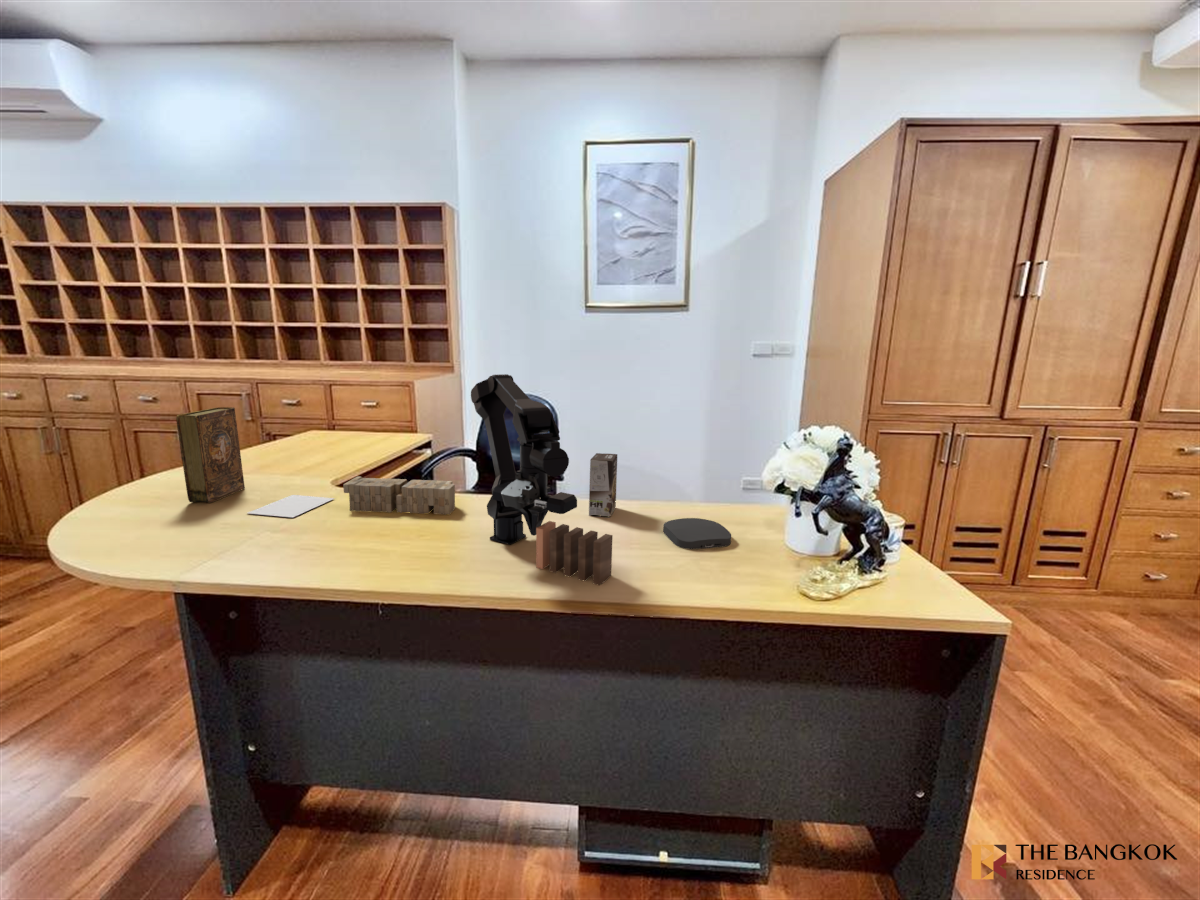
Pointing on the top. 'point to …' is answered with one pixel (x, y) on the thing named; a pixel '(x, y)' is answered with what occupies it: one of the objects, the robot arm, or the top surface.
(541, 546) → the terracotta domino
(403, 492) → the block tower
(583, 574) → the walnut domino
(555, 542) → the walnut domino
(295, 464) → the top surface
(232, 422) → the book
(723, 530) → the media streaming box
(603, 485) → the coffee box
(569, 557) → the walnut domino
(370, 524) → the top surface
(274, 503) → the paper stack
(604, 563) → the walnut domino
